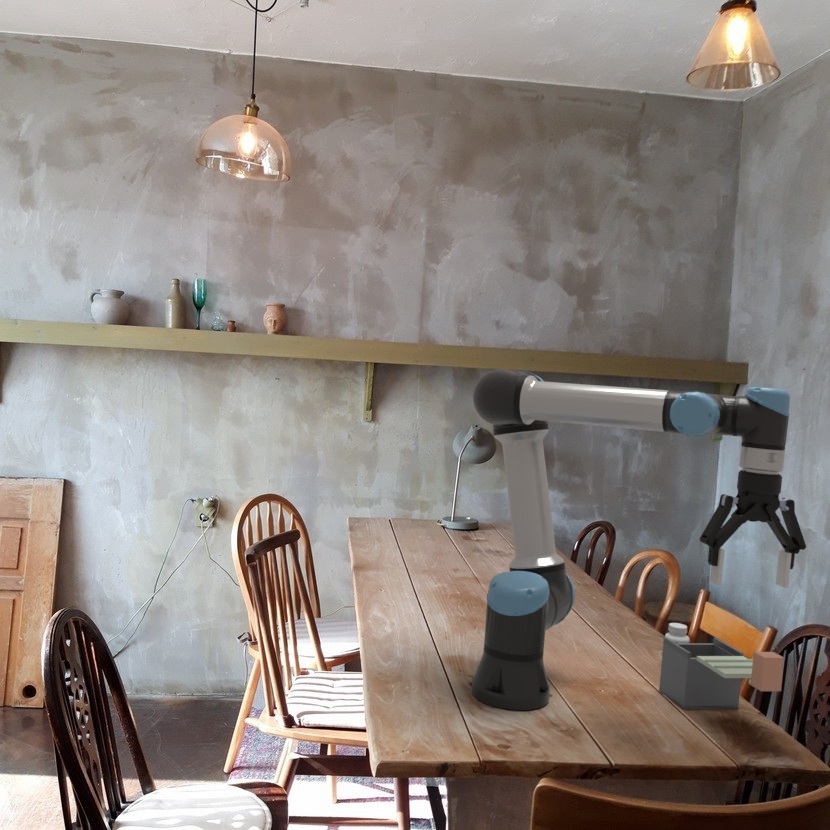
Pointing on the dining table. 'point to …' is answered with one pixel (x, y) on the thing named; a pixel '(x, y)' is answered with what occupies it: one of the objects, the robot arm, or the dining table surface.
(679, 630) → the pill bottle
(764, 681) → the green and tan block
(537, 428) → the robot arm
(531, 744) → the dining table surface
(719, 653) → the tub
